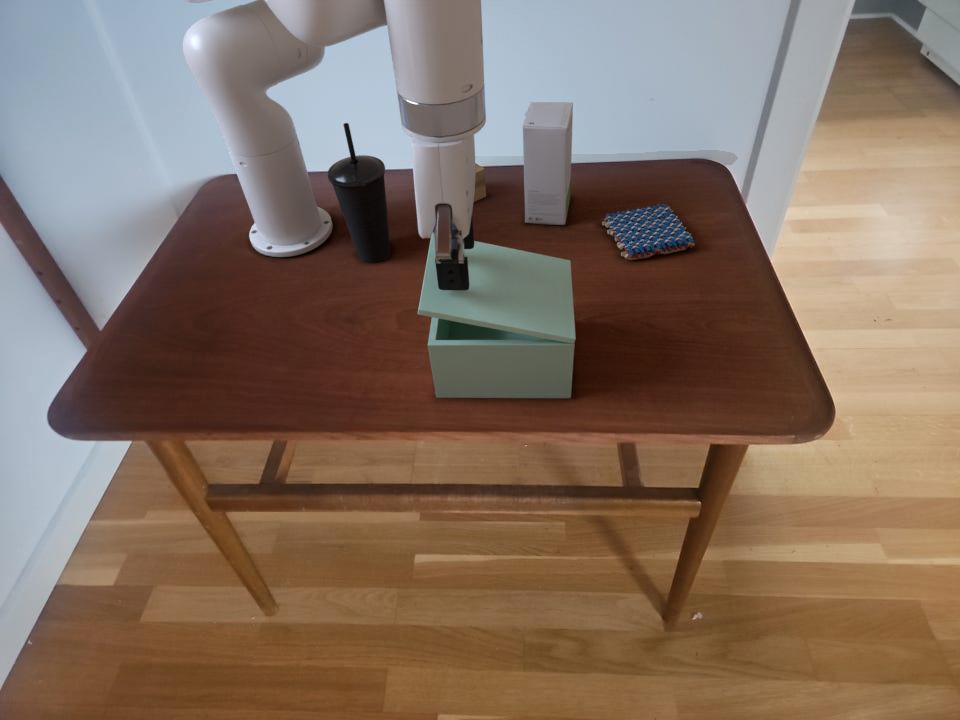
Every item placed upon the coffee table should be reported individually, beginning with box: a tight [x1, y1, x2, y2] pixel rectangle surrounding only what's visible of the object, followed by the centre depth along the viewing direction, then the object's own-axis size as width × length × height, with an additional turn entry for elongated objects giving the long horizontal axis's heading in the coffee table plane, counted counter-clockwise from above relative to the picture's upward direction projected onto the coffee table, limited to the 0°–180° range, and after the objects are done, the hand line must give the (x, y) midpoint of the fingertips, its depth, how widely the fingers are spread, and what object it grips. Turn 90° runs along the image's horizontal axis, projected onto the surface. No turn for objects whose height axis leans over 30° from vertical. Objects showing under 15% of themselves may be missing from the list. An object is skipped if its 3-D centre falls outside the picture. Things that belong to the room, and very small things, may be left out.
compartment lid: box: [417, 225, 577, 344], centre depth 69 cm, size 17×13×5 cm
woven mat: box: [601, 203, 696, 261], centre depth 93 cm, size 10×11×2 cm
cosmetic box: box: [522, 101, 574, 226], centre depth 95 cm, size 8×7×16 cm
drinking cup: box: [327, 122, 391, 264], centre depth 88 cm, size 8×8×20 cm
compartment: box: [427, 317, 575, 399], centre depth 76 cm, size 16×13×9 cm
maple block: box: [473, 162, 487, 203], centre depth 103 cm, size 5×5×5 cm
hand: (457, 266), depth 69 cm, fingers closed on compartment lid, 6 cm apart
